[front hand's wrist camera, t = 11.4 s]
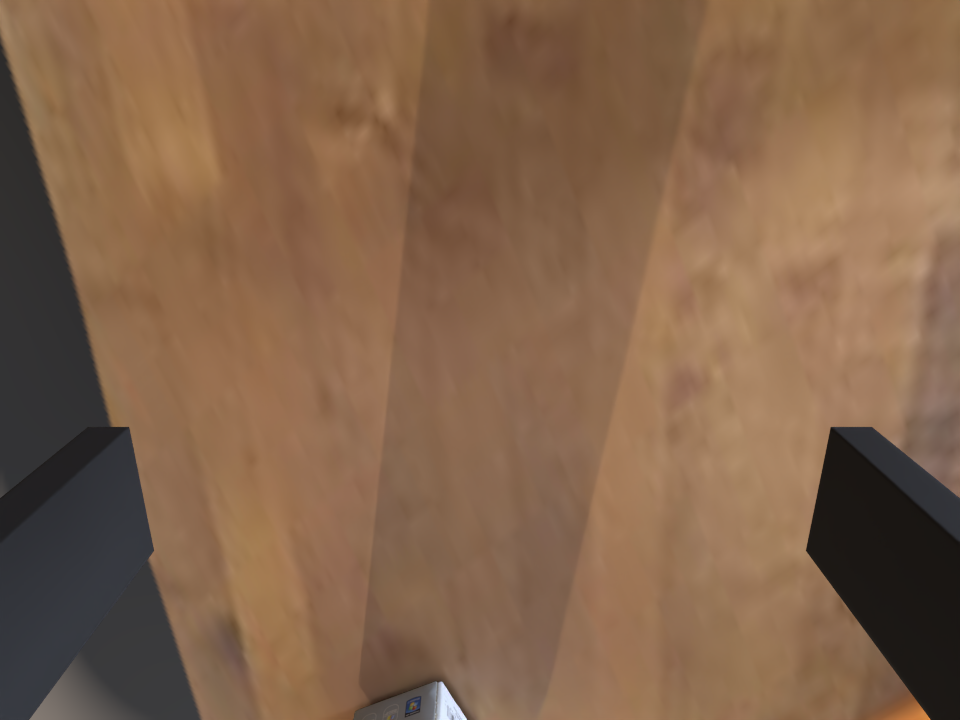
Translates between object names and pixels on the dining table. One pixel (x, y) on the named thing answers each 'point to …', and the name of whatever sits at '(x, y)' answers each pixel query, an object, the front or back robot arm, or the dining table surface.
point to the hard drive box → (415, 706)
